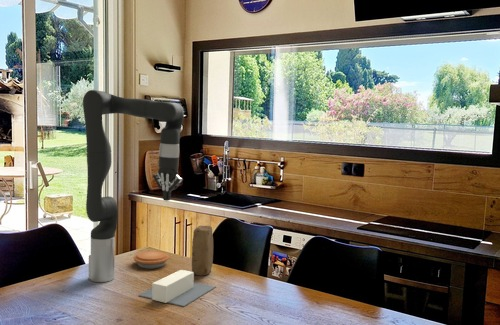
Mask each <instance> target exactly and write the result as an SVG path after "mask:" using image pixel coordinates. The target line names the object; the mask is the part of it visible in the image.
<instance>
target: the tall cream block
mask: <svg viewBox="0 0 500 325" xmlns="http://www.w3.org/2000/svg"><path fill="white" fill-rule="evenodd" d="M194 282H195V274H194V272H192V271H190V270H185V269H179V270H176V272H173V273H171V274H169V275H166V276H165V277H163V278H160V279H158V280H156V281H154V282H152V284H151V285H152V286H151V288H152V299H151V300H152V301H157V302H161V303H165V304H166V302H168V301H170V300H172V299H174V298H175V297H177V296H179V295H181V294H182V293H184V292H186V291H188V290H189V289H191V288H193V287H194Z"/></svg>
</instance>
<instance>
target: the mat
mask: <svg viewBox="0 0 500 325" xmlns="http://www.w3.org/2000/svg"><path fill="white" fill-rule="evenodd" d="M215 288H217V286H215V285H210V284H205V283H200V282H196V281H194V287H193V288H191V289H189V290H188V291H186V292H184V293H182V294H181V295H179V296H177V297H175V298H174V299H172V300H170V301H168V302H166V303H167V304H170V305H176V306H178V307H183V308H185V307H186V306H188V305H189V304H191V303H193V302H194V301H196V300H198V299H200V298H201V297H203V296H204V295H206V294H208V293H209V292H211V291H212V290H214V289H215ZM137 296H138V297H140V298H141V297H142V298H146V299H150V300H152V287H151V288H149V289H148V290H145V291H144V292H141V293H139V294H138V295H137ZM166 303H165V304H166Z"/></svg>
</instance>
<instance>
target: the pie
mask: <svg viewBox="0 0 500 325" xmlns="http://www.w3.org/2000/svg"><path fill="white" fill-rule="evenodd" d="M169 258H170V257H169V255H168V254H166V253H164V252H161V251H156V250H150V251H149V250H148V251H142V252H139V253H137V254H135V255H134V256H133V259H134V261H135V263H136V264H137V266H138V267H139V268H141V269H146V270H147V269H148V270H150V269H159V268H161V267H164V266H165V264H166V263H167V261H168V260H169Z"/></svg>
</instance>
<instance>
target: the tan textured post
mask: <svg viewBox="0 0 500 325" xmlns="http://www.w3.org/2000/svg"><path fill="white" fill-rule="evenodd" d="M213 235H214V234H213V228H212V226H210V225H198V226H196V227H195V228H194V230H193V236H192V246H191V272H194V275H197V276H207V275H209V274H210V273H211V271H212V267H213V261H214V236H213Z"/></svg>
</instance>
